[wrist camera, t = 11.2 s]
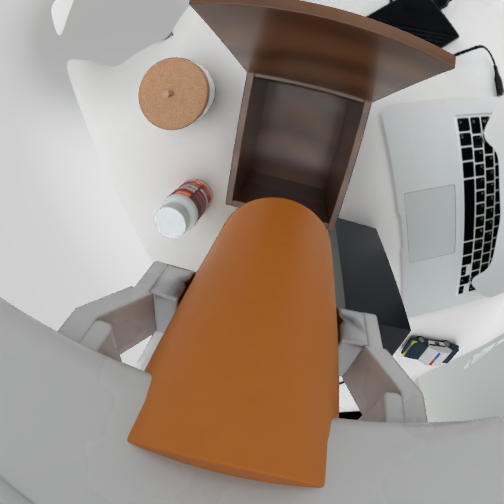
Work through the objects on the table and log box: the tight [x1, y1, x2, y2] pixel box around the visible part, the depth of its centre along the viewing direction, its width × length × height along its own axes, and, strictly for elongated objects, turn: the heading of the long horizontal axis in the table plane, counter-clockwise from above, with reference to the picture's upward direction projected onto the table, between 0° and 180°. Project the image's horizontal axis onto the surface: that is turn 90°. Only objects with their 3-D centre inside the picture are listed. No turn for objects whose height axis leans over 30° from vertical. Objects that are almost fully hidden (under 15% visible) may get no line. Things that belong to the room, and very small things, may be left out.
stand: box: [328, 218, 411, 355], centre depth 39 cm, size 8×8×24 cm
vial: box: [127, 197, 339, 488], centre depth 9 cm, size 5×5×10 cm
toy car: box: [401, 336, 459, 366], centre depth 57 cm, size 5×16×5 cm, turn 80°
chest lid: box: [189, 0, 456, 102], centre depth 17 cm, size 18×14×1 cm
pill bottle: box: [155, 179, 212, 238], centre depth 45 cm, size 6×6×11 cm
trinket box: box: [139, 58, 215, 130], centre depth 36 cm, size 11×11×9 cm
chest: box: [226, 72, 372, 231], centre depth 36 cm, size 17×14×13 cm
